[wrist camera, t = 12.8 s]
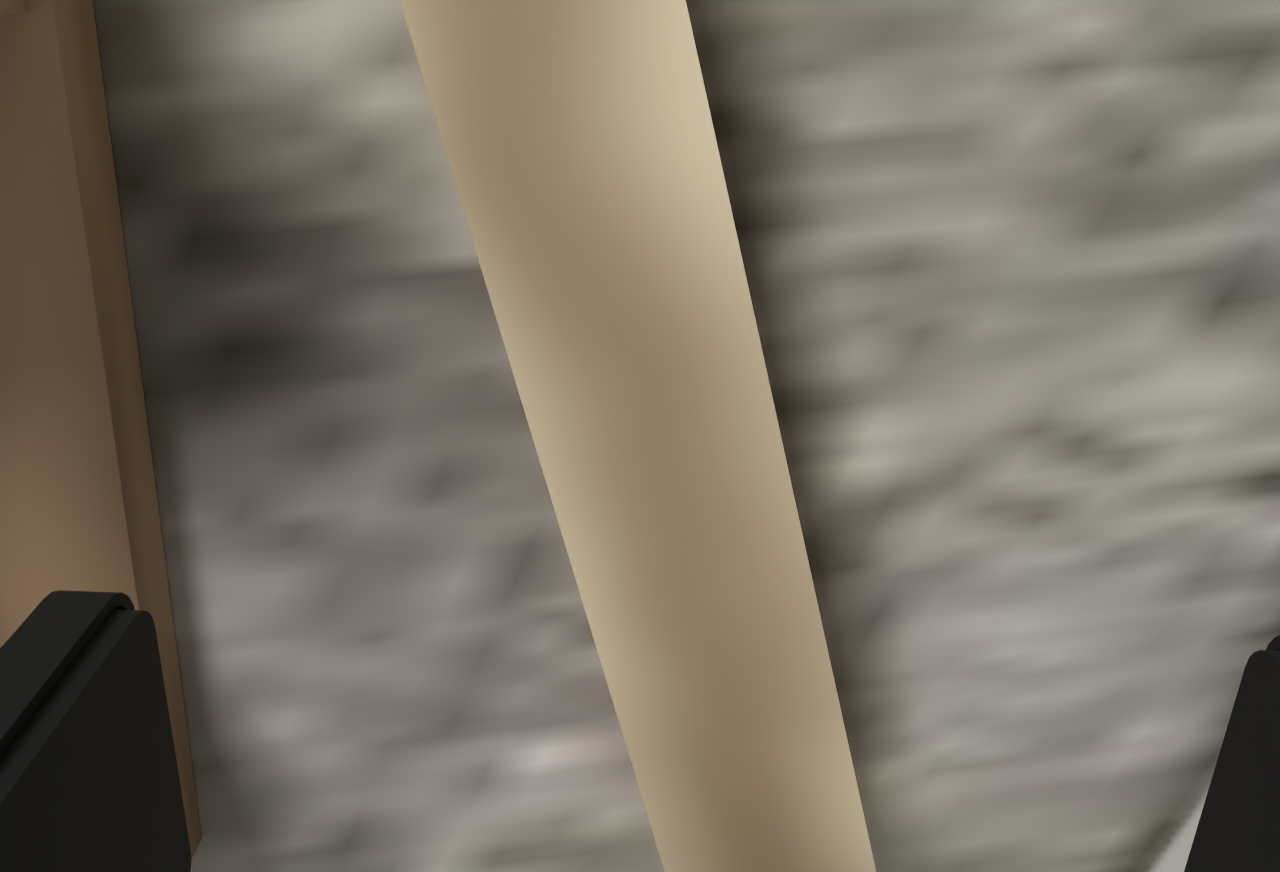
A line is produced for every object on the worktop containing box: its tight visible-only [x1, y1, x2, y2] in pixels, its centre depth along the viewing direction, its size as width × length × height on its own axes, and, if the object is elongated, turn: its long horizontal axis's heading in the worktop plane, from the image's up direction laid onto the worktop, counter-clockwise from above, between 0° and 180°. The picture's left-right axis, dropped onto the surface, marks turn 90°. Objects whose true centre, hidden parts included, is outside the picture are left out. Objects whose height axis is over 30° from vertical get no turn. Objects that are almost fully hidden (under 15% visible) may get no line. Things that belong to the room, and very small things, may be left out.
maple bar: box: [400, 0, 876, 872], centre depth 21 cm, size 4×24×4 cm, turn 14°
